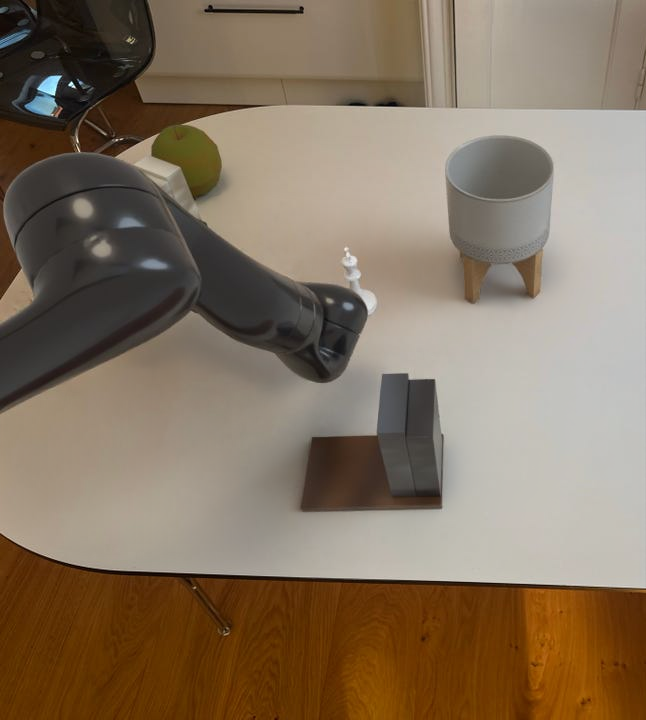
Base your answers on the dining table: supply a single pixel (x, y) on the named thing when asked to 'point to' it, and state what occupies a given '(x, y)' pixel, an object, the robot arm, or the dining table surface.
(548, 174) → the planter
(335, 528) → the dining table surface
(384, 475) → the grey book stand
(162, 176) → the white book stand
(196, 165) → the apple
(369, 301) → the chess piece
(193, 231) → the robot arm
